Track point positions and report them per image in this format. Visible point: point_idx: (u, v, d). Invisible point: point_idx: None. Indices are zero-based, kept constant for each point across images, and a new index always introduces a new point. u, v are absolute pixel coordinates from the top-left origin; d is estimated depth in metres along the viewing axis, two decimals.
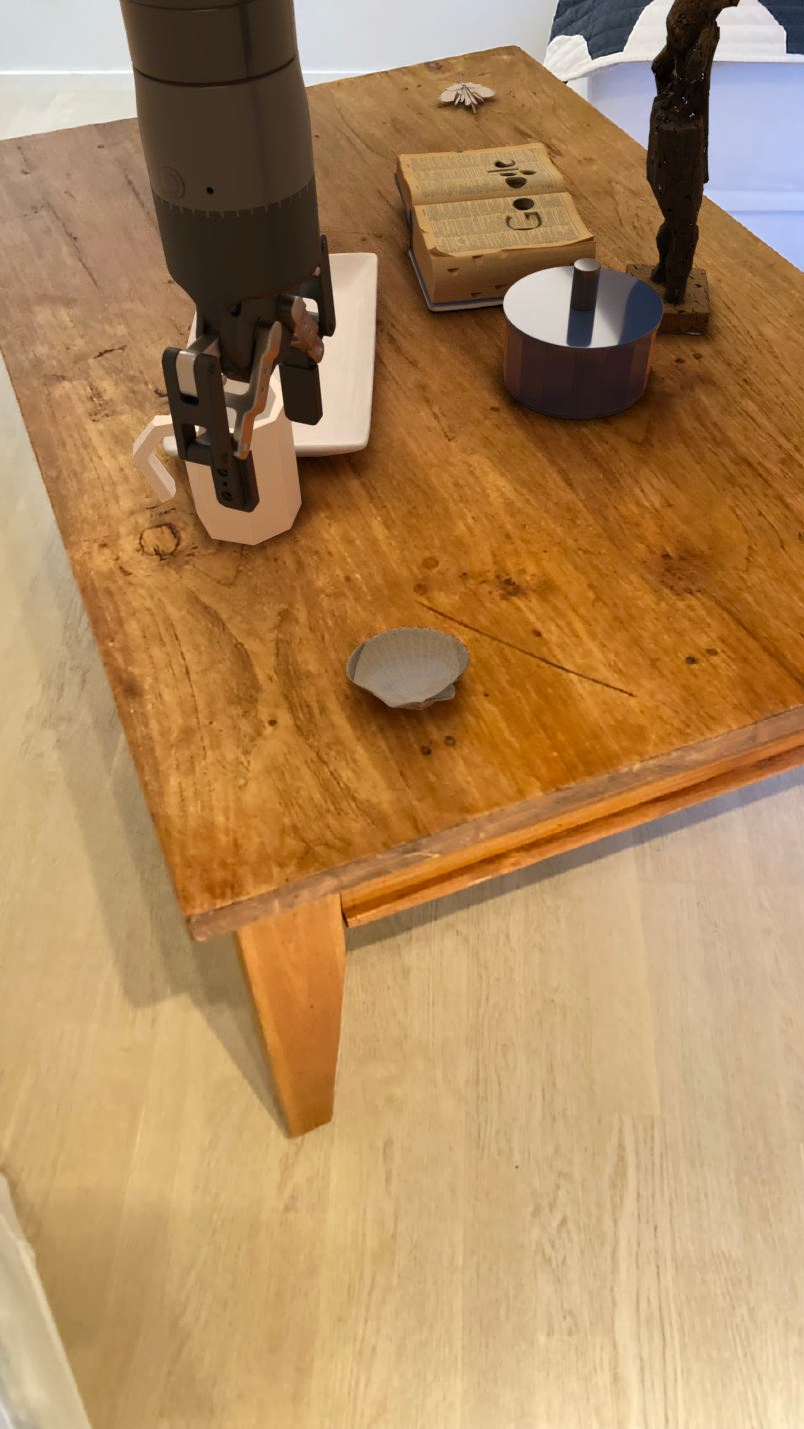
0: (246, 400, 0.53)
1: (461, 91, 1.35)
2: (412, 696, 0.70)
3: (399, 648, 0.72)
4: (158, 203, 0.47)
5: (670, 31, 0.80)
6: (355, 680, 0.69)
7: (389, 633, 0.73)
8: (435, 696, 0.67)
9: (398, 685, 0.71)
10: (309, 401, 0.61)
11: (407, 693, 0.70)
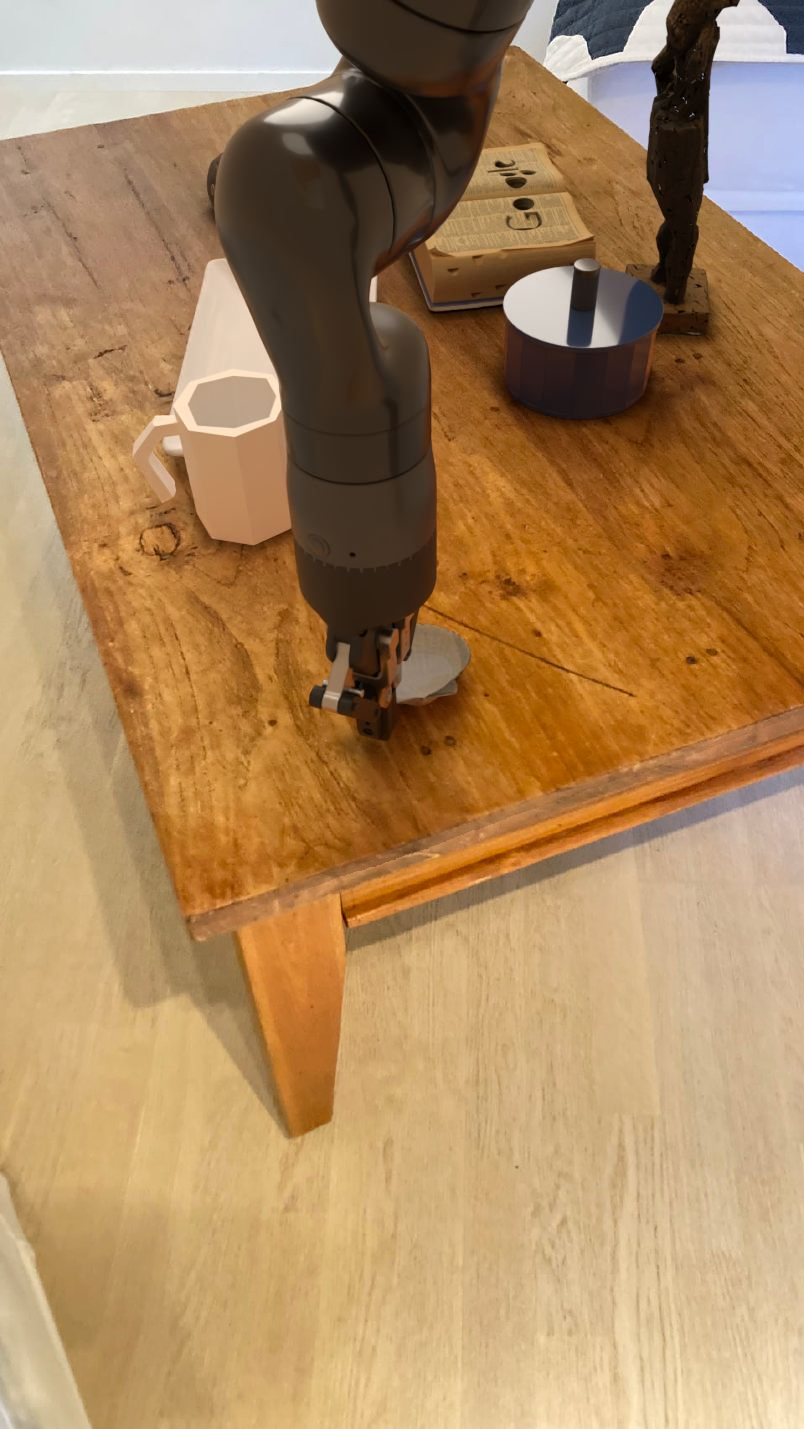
0: (381, 682, 0.61)
1: None
2: (414, 692, 0.70)
3: None
4: (301, 552, 0.53)
5: (670, 31, 0.80)
6: None
7: None
8: (437, 692, 0.68)
9: None
10: None
11: (409, 689, 0.70)
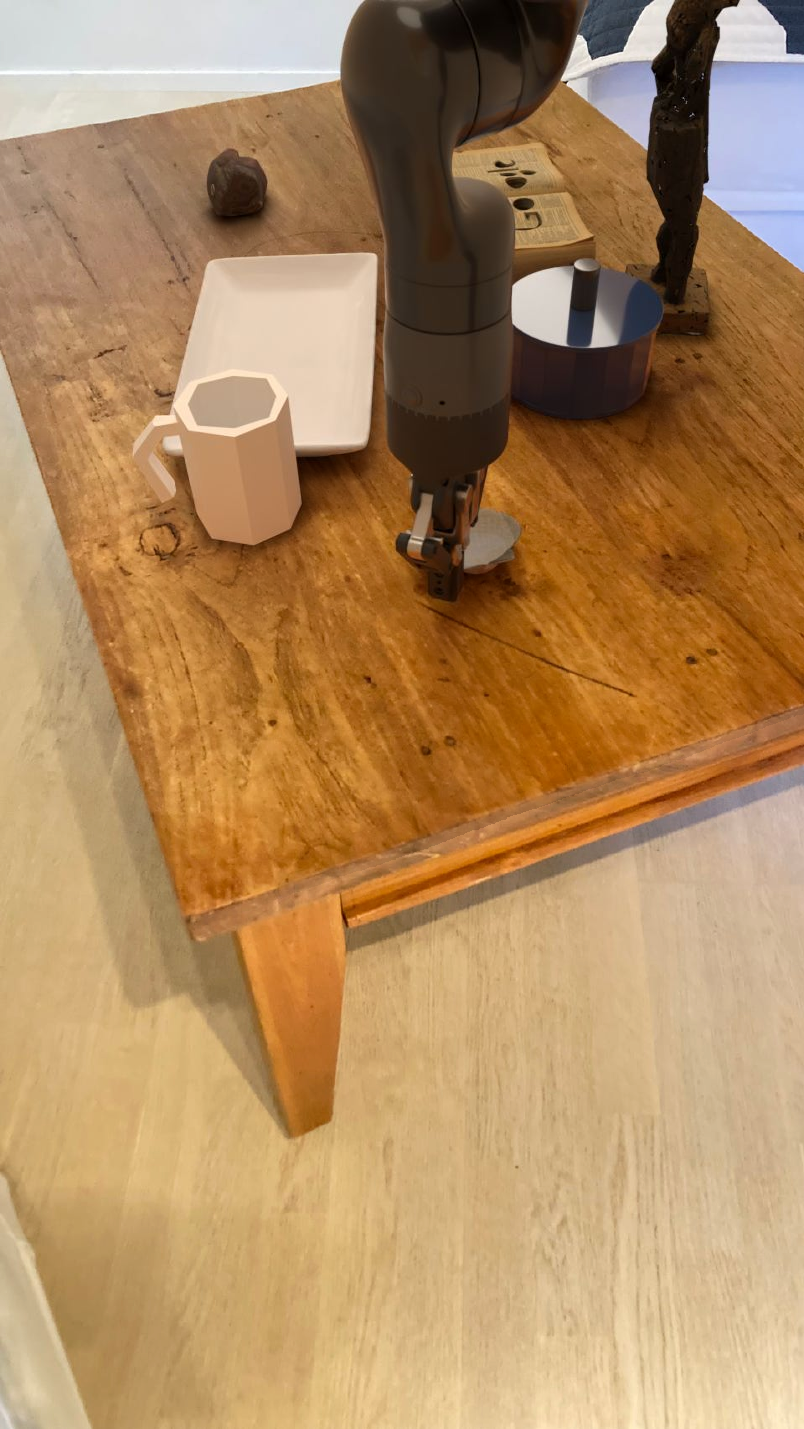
0: (455, 538, 0.69)
1: None
2: (473, 565, 0.78)
3: None
4: (394, 406, 0.61)
5: (670, 31, 0.80)
6: None
7: None
8: (497, 559, 0.76)
9: None
10: None
11: (468, 563, 0.78)
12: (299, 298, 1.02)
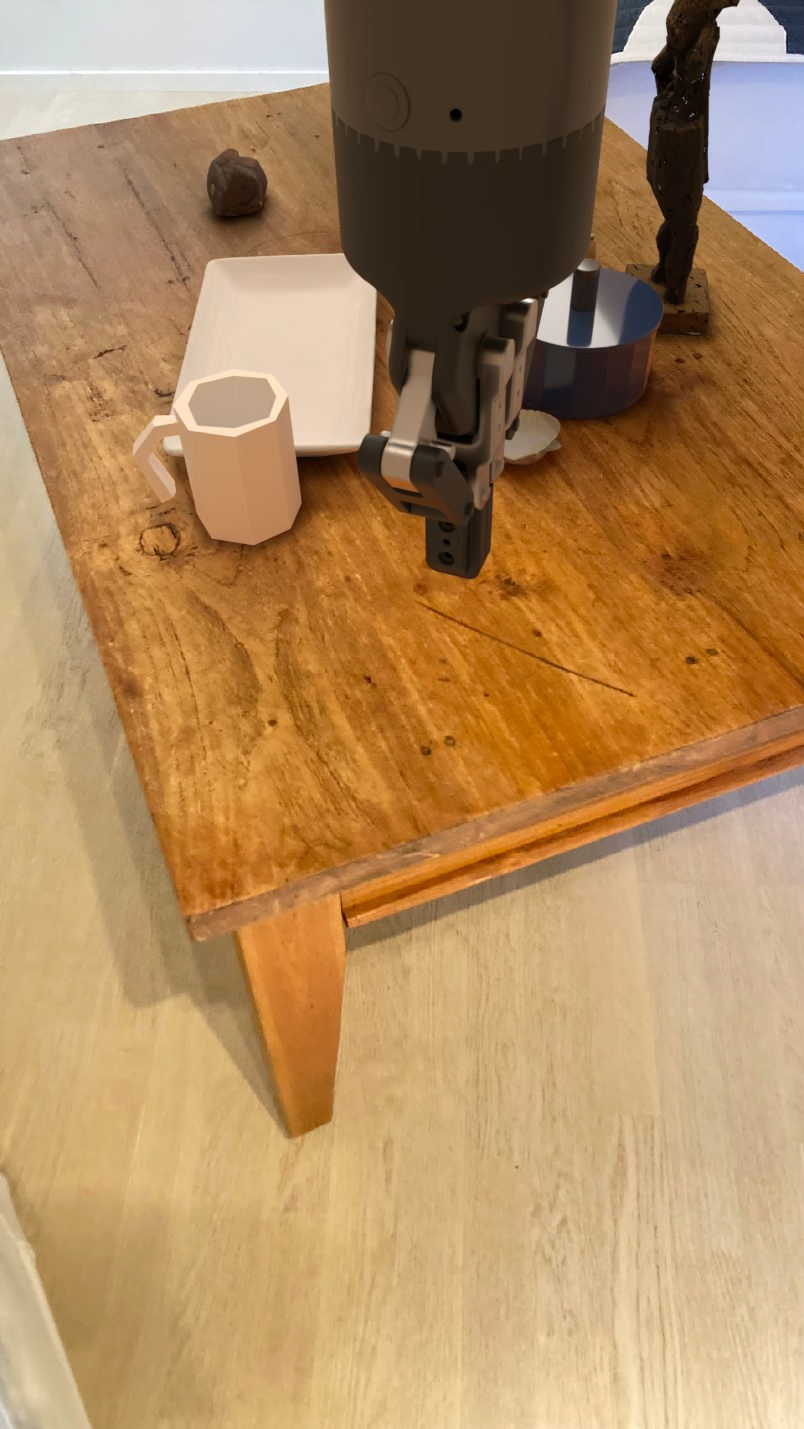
0: (478, 452, 0.36)
1: None
2: None
3: None
4: (350, 142, 0.28)
5: (670, 31, 0.80)
6: None
7: None
8: (546, 448, 0.84)
9: (506, 453, 0.87)
10: None
11: None
12: (299, 298, 1.02)
